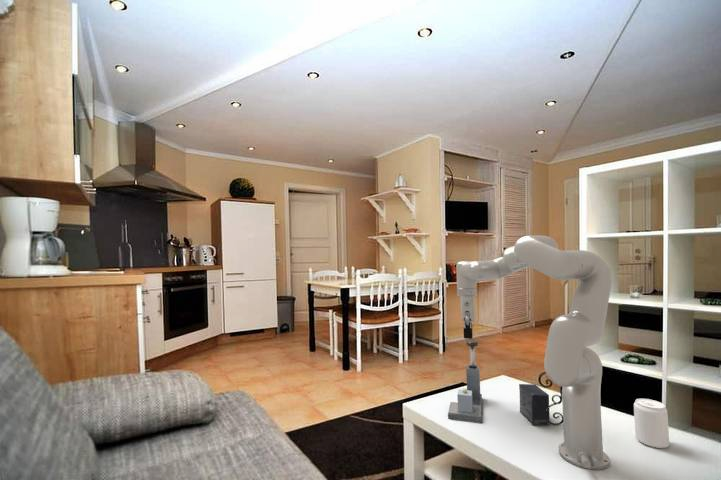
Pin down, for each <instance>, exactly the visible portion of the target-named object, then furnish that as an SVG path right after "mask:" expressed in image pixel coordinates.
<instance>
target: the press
mask: <svg viewBox="0 0 721 480" xmlns="http://www.w3.org/2000/svg"><path fill="white" fill-rule="evenodd" d="M480 371H481V370H480V365H476V364H475V368H471V364H466V389H467V390H470V391H472V404H473V408H472V413H470V412H462V411H458V402H455V401H450V403H449V409H448V413H447V419H448V420H456V421H463V422H464V421H465V422H471V423H477V424H478V423H479V424H482V423H483V422H482V421H483V420H482V418H483V417H482V416H483V414H482V413H483V412H482V411H483V410H482V409H483V405H482V403H483V396H482V395H483V394H482V393H481V376H480V375H481V374H480V373H481V372H480Z"/></svg>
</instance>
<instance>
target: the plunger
mask: <svg viewBox="0 0 721 480" xmlns="http://www.w3.org/2000/svg"><path fill="white" fill-rule="evenodd" d="M465 343H466V346H467V347H469V359H470V360H469V361H470V363H469V364H470V365H471V368H475V365H476V352H475V349H476V348H475V347H478V346H479V342H478V341H476V340H466V342H465Z"/></svg>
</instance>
